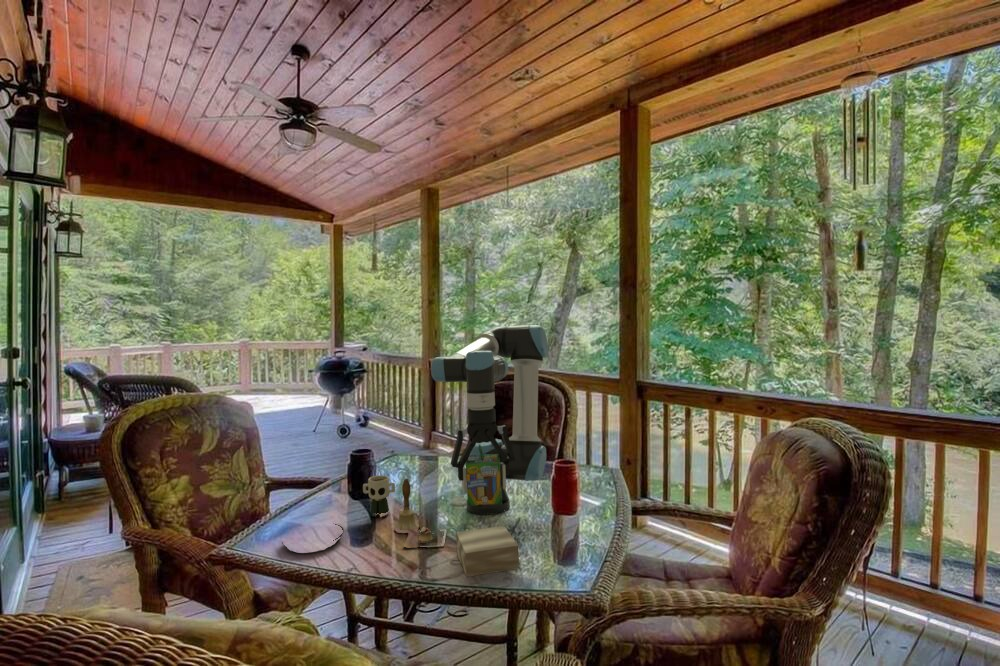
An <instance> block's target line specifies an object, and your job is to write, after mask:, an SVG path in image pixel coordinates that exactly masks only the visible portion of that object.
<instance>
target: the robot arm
mask: <svg viewBox="0 0 1000 666" xmlns="http://www.w3.org/2000/svg"><path fill="white" fill-rule="evenodd" d="M548 355H549V345H548V337H547V334H546V331H545V329H544V327H543V326H541V325H538V324H537V325H536V324H526V325H525V324H523V325H503V326H497V327H493V328H491V329H488V330H486V331H484V332H483V333H480V334H478V335H477V336H476V337H475V338H474V340H473V341H472V342H471V343H469V344H467V345H465V346H464V347H462V348H460V350H457V351H456V352H454V353H452V354H451V355H449V356H444V355H443V356H437V357H434V358H433V360H432V362H431V365H430V372H431V373H430V374H431V377H432V379H433V380H434V381H435V382H439V383H440V382H441V383H446V384H447V383H466V397H467V398H466V401H467V404H466V405H467V406H466V407H468V409H467V426H466V428H463V429H461V428H457V429H456V441H455V443H454V448H453V452H452V456H451V459H450V460H451V461H450V465H451V467H453V468H456V469H457V478H458V480H459V481H460V482H461V489H462V493H463V494H464V495H465V494H466V495H467V479H466V461H467V459H468V457H469V455H480V452H479V444H480V446H481V449H482V452H483V454H499V456H500V476H501V493H502V504H492V505H475V506H468V497H467V499H466V510H467V511H468V512H470V513H472V514H476V515H494V514H495V513H496V514H499V512H500V513H503V512H505V511H507V510H508V509H510V498H509V496H508V492H507V490H506V489H507V480H513V481H515V480H517V481H525V482H528V481H539V480H540V479H541V478H542V477H543V474H544V472H545V470H546V468H545V467H546V465H547V464H546V462H547V448H546V446H545V445H542V439H541V438H540V437H539V436H538V416H539V415H538V414H539V412H538V409H539V408H538V406H539V404H538V403H539V369H540V367H541V366H542V364H543V363H544V358H545V359H546V358H547V357H548ZM505 358H507V359H509V358H510V364H511V365H513V366H514V367H513V368H514V370H513V371H514V372H513V373H514V374H513V406H512V407H513V409H512V410H513V412H512V433H511V434H512V435H511V436H509V435H508V433H509V431H508V427H507V425H505V424H502V425H497V421H496V420H497V418H496V409H495V406H496V398H495V397H496V396H495V395H496V394H495V392H496V391H495V390H496V389H495V382H499V381H501V380H503V379H504V378H505V377H506V376H507V374H508V372H509V365H508V362H507V360H506V359H505ZM497 432H498V433H499V434H500V436H501V438H502V439H498V438H495V435H496V433H497ZM466 434H468V435H469V440H468V442H467V444H466V446H465V449H464V450H463V452H462V454H461V448H462V446H463V441H464V438H465V437H466ZM460 454H461V456H460ZM506 509H507V510H506ZM504 510H505V511H504ZM502 511H503V512H502Z"/></svg>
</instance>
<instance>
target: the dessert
mask: <svg viewBox="0 0 1000 666" xmlns="http://www.w3.org/2000/svg"><path fill="white" fill-rule="evenodd" d="M430 530H431V529H429V528H428V527H427V526H426V525H424V526H423V527H422V528H420V530H419V531H420V534H418V535H419V536H418V539H419V540H421V541H429V540H432V539H433V540H434V537H433V535H432V534H433V533H432V534H431V531H430ZM439 530H440V531H445V532H444V536H443V540H442V544H441V543H440V544H441V546H440V545H425V546H423V545H422V546H420V545H419V546H420V547H427V548H442V547H444V546H445V542H446V539H447V532H448V531H447V530H448V529H439Z"/></svg>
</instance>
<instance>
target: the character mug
mask: <svg viewBox="0 0 1000 666" xmlns="http://www.w3.org/2000/svg"><path fill="white" fill-rule="evenodd" d="M367 479H368V480H367V483H363V485H362V492H363V494H368V497H369V498H370V499H371V505H370V513H371V512H372V513H376V514H377V513H379V514H381V513H386V512H388V511H389V512H390V508H389V503H388V499H387V498H388V497H389V496H390V494H391V493H395V492H396V484H395V482H390V477H389V476H388V475H373V476H370V477H369V478H367ZM390 486H391V489H390ZM367 489H368V490H367Z"/></svg>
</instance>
